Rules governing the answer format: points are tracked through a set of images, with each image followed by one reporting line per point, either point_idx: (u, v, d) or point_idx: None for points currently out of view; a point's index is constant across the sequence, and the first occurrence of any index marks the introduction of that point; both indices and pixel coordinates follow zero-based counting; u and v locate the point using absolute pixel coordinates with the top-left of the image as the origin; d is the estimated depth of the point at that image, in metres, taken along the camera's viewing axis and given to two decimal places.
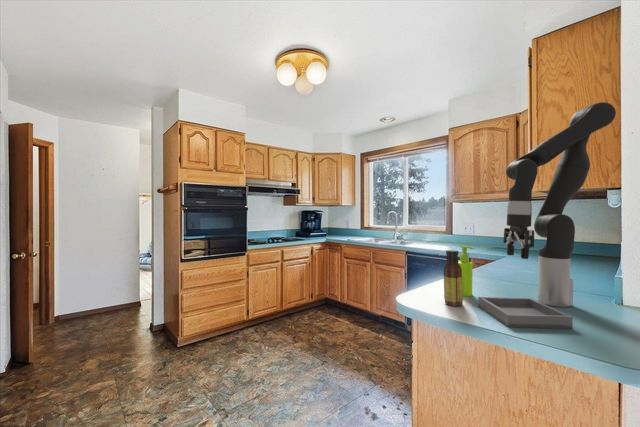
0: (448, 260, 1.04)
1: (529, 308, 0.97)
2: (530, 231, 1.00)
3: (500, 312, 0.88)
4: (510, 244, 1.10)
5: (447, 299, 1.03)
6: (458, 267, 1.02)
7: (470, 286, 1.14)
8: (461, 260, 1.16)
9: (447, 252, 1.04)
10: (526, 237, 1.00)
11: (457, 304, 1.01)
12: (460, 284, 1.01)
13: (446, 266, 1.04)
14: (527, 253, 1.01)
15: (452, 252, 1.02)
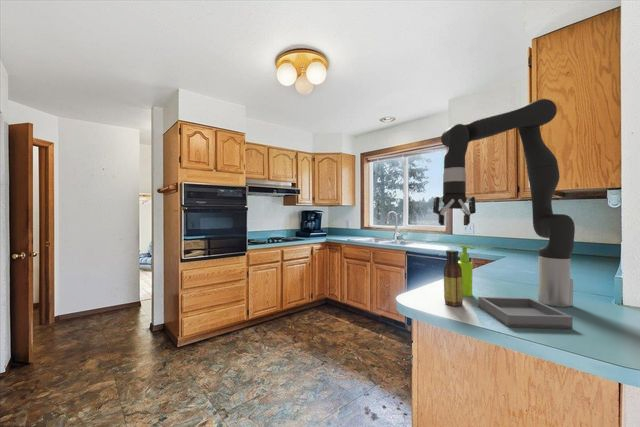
0: (448, 260, 1.03)
1: (529, 308, 0.97)
2: None
3: (500, 312, 0.88)
4: None
5: (447, 299, 1.03)
6: (458, 267, 1.02)
7: (470, 286, 1.14)
8: (461, 260, 1.16)
9: (447, 252, 1.04)
10: (474, 204, 1.02)
11: (457, 304, 1.01)
12: (460, 284, 1.01)
13: (446, 266, 1.04)
14: None
15: (452, 252, 1.02)
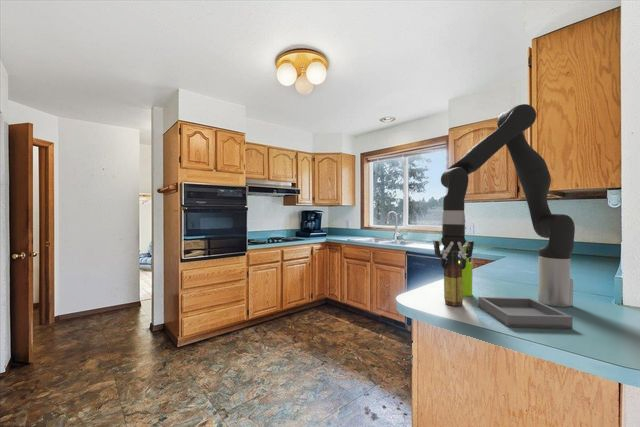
0: (448, 260, 1.03)
1: (529, 308, 0.97)
2: None
3: (500, 312, 0.88)
4: None
5: (447, 299, 1.03)
6: (458, 267, 1.02)
7: (470, 286, 1.14)
8: None
9: None
10: (471, 248, 1.03)
11: (457, 304, 1.01)
12: (460, 284, 1.01)
13: (446, 266, 1.04)
14: None
15: (452, 252, 1.02)
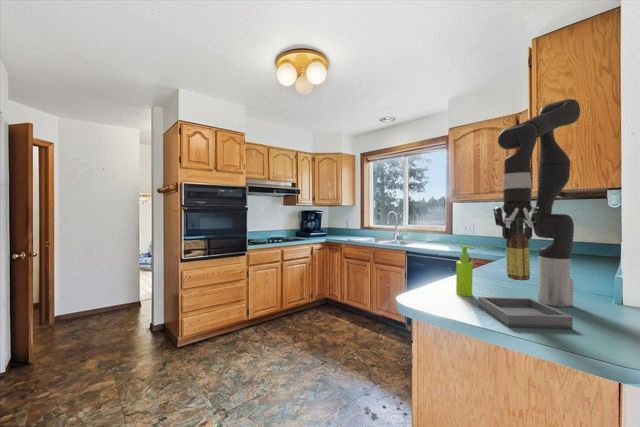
0: (512, 229, 0.92)
1: (529, 308, 0.97)
2: None
3: (500, 312, 0.88)
4: None
5: (512, 273, 0.92)
6: (525, 236, 0.90)
7: (470, 286, 1.14)
8: (461, 260, 1.16)
9: None
10: (539, 215, 0.91)
11: (524, 278, 0.90)
12: (527, 255, 0.90)
13: (510, 236, 0.92)
14: None
15: (518, 220, 0.91)
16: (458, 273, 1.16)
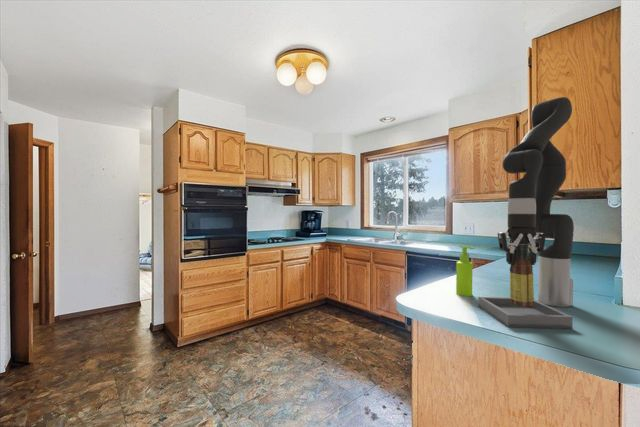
0: (516, 254, 0.91)
1: (529, 308, 0.97)
2: None
3: (500, 312, 0.88)
4: None
5: (515, 299, 0.91)
6: (529, 262, 0.90)
7: (470, 286, 1.14)
8: (461, 260, 1.16)
9: None
10: (543, 241, 0.90)
11: (528, 304, 0.89)
12: (531, 282, 0.89)
13: (514, 261, 0.92)
14: None
15: (522, 245, 0.90)
16: (458, 273, 1.16)
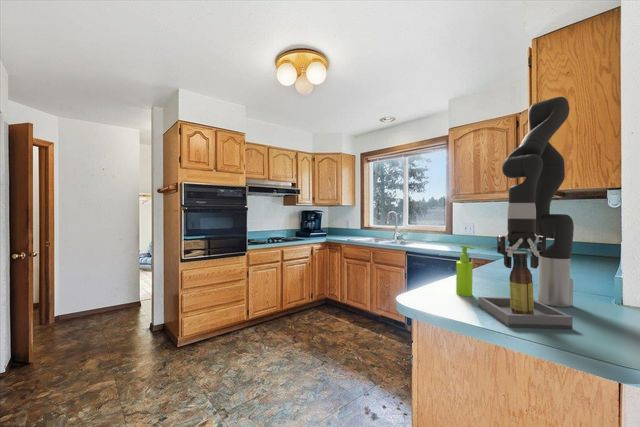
0: (516, 264, 0.91)
1: None
2: None
3: (500, 312, 0.88)
4: None
5: (516, 308, 0.91)
6: (528, 272, 0.90)
7: (470, 286, 1.14)
8: (461, 260, 1.16)
9: (514, 255, 0.91)
10: (544, 244, 0.90)
11: None
12: (531, 291, 0.89)
13: (513, 270, 0.92)
14: None
15: (521, 255, 0.90)
16: (458, 273, 1.16)
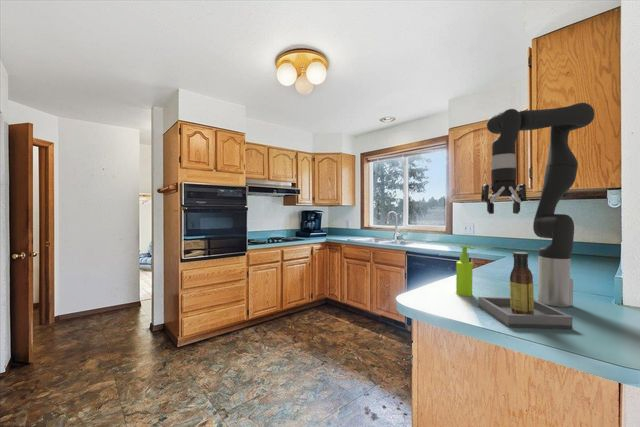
0: (516, 264, 0.91)
1: None
2: None
3: (500, 312, 0.88)
4: None
5: (516, 308, 0.91)
6: (529, 272, 0.90)
7: (470, 286, 1.14)
8: (461, 260, 1.16)
9: (515, 255, 0.92)
10: (524, 191, 1.00)
11: None
12: (532, 291, 0.89)
13: (514, 270, 0.92)
14: None
15: (522, 255, 0.90)
16: (458, 273, 1.16)
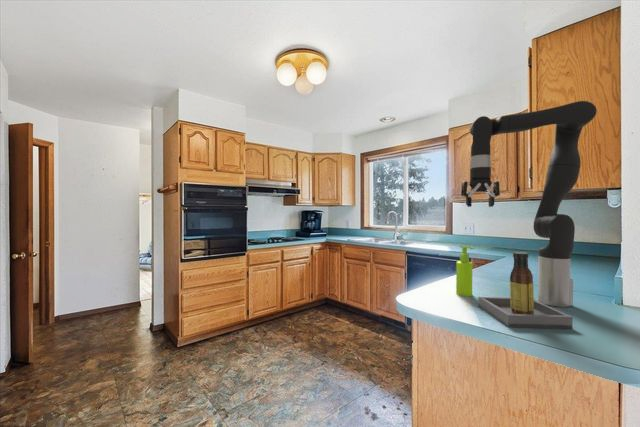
0: (516, 264, 0.91)
1: None
2: None
3: (500, 312, 0.88)
4: None
5: (516, 308, 0.91)
6: (529, 272, 0.90)
7: (470, 286, 1.14)
8: (461, 260, 1.16)
9: (515, 255, 0.92)
10: (498, 187, 1.15)
11: None
12: (532, 291, 0.89)
13: (514, 270, 0.92)
14: None
15: (522, 255, 0.90)
16: (458, 273, 1.16)
